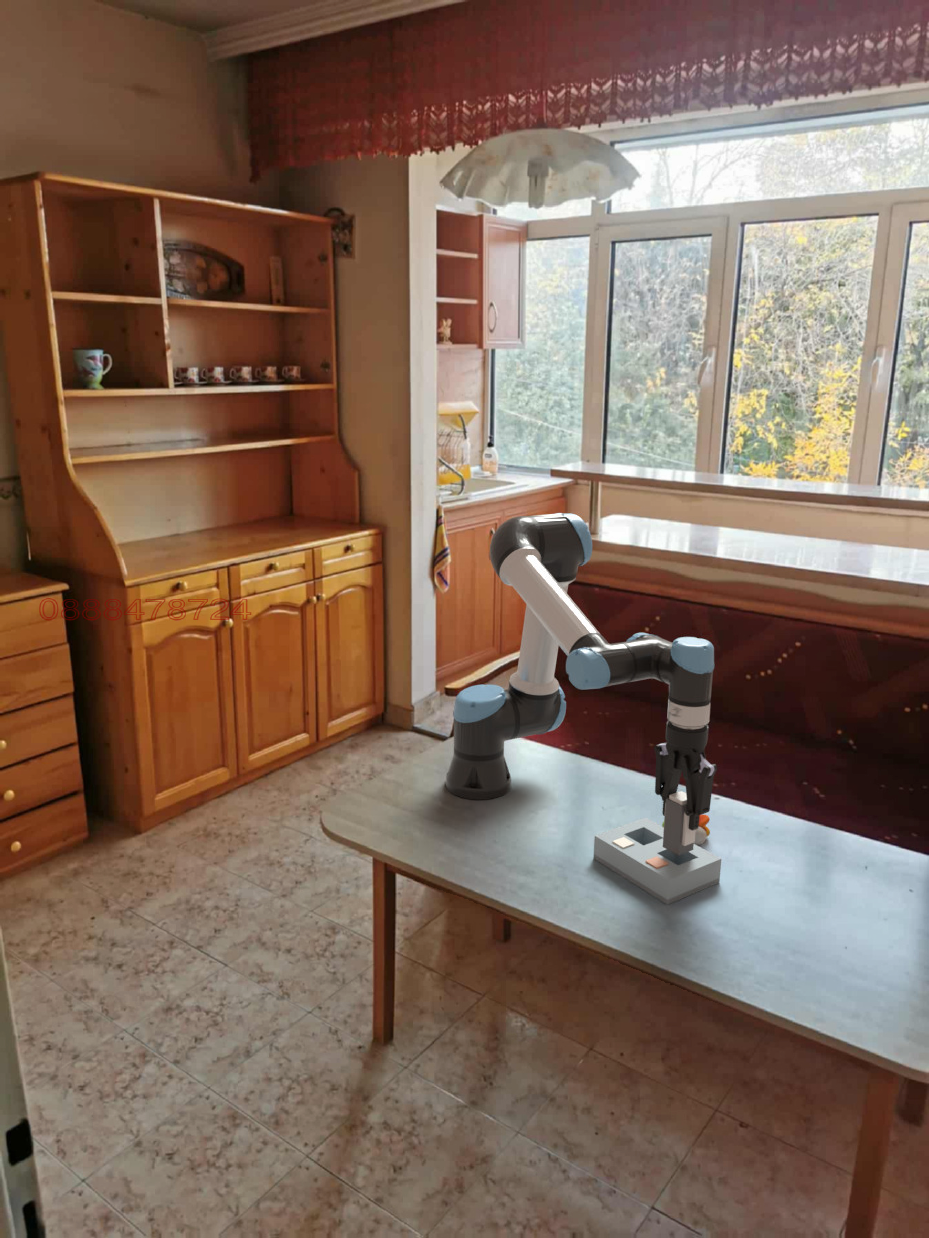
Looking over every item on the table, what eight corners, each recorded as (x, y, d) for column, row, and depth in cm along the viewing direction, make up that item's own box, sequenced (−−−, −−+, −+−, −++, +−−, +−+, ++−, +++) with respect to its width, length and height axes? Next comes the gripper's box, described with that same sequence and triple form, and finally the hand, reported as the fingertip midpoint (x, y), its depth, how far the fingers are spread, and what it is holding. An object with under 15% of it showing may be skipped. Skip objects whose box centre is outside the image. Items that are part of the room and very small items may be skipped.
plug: (662, 846, 177) (666, 794, 175) (677, 841, 180) (681, 789, 177) (678, 855, 174) (682, 802, 171) (693, 849, 176) (697, 797, 174)
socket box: (593, 858, 186) (594, 834, 184) (644, 839, 193) (645, 816, 192) (667, 904, 170) (669, 878, 168) (719, 882, 177) (721, 857, 176)
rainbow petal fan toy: (710, 849, 190) (713, 816, 188) (661, 844, 192) (664, 812, 190) (707, 830, 198) (710, 798, 196) (661, 825, 200) (663, 794, 198)
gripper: (639, 712, 175) (632, 825, 181) (709, 741, 162) (699, 862, 168) (667, 704, 179) (660, 815, 185) (738, 732, 166) (727, 851, 172)
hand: (678, 837), depth 176 cm, fingers closed on plug, 4 cm apart
